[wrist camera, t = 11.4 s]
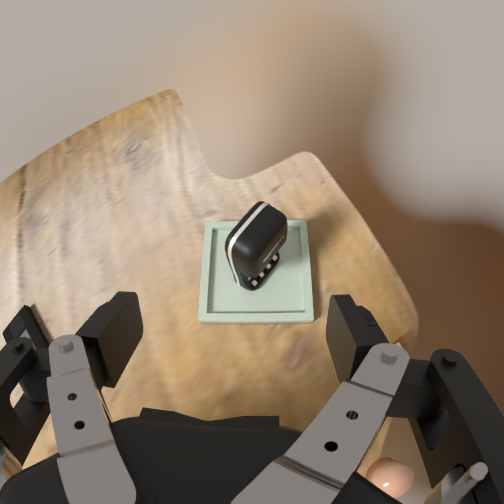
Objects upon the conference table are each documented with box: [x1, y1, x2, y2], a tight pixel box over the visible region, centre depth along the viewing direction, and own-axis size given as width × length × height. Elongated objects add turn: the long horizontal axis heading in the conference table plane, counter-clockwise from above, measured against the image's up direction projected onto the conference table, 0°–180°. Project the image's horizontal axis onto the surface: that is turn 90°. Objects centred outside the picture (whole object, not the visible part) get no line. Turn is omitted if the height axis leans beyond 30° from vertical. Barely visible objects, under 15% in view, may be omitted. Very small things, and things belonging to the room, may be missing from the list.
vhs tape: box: [3, 305, 49, 349], centre depth 35 cm, size 8×14×2 cm, turn 48°
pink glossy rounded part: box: [366, 458, 414, 498], centre depth 25 cm, size 4×4×5 cm
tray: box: [198, 220, 314, 324], centre depth 39 cm, size 14×14×2 cm
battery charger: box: [225, 201, 288, 291], centre depth 34 cm, size 7×4×11 cm, turn 143°
